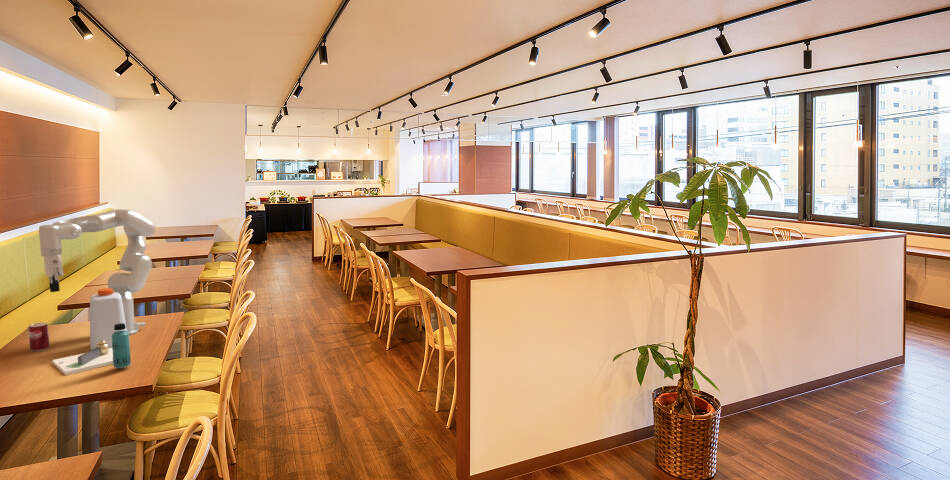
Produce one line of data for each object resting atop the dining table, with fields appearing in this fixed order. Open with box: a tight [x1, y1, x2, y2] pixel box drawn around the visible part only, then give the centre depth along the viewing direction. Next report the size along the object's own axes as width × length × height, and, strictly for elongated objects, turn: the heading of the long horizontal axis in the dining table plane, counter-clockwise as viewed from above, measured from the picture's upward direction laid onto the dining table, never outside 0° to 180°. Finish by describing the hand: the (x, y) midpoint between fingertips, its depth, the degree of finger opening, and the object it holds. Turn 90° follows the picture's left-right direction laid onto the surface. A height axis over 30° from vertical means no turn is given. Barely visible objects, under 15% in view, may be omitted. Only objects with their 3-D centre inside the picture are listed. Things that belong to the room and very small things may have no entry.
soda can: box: [27, 322, 51, 352], centre depth 251 cm, size 7×7×12 cm
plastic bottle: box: [89, 288, 127, 351], centre depth 256 cm, size 15×15×28 cm
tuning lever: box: [78, 340, 108, 364], centre depth 236 cm, size 17×4×6 cm, turn 2°
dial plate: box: [51, 347, 114, 376], centre depth 237 cm, size 23×20×2 cm
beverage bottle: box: [112, 323, 132, 369], centre depth 229 cm, size 6×7×20 cm
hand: (54, 291), depth 244 cm, fingers closed
